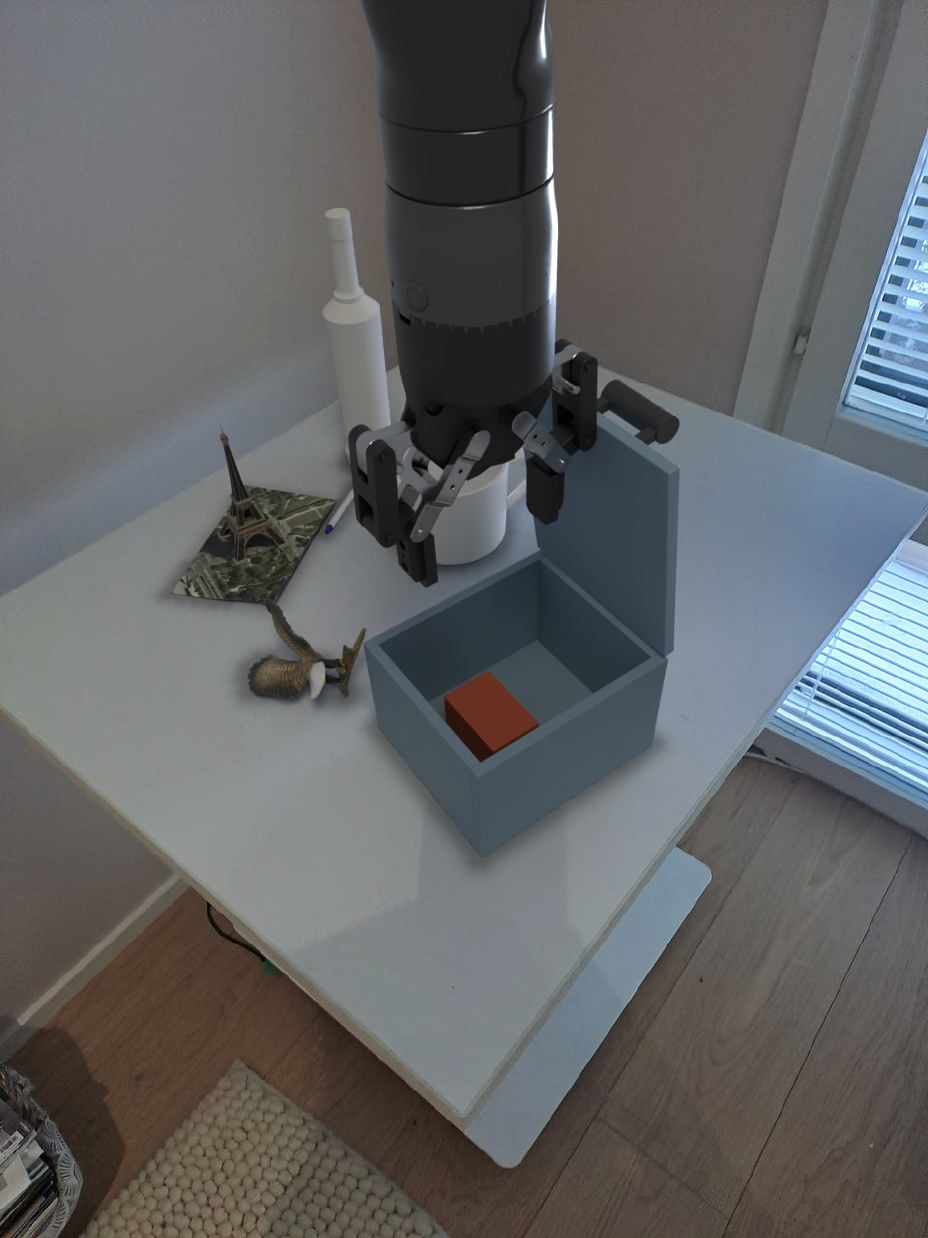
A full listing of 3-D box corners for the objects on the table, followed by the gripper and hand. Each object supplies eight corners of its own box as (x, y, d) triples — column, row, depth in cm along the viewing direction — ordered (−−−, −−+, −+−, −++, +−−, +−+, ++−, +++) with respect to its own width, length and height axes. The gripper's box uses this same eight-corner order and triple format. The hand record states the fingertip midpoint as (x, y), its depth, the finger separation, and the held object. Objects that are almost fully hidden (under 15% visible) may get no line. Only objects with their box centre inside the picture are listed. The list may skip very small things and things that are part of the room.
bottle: (353, 443, 94) (314, 199, 76) (401, 446, 94) (374, 200, 75) (342, 474, 91) (298, 226, 72) (392, 476, 90) (361, 226, 72)
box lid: (669, 474, 46) (739, 427, 48) (510, 364, 54) (574, 326, 56) (665, 657, 59) (720, 617, 60) (537, 547, 67) (588, 513, 68)
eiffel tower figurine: (276, 611, 78) (242, 490, 68) (171, 593, 80) (123, 472, 70) (337, 502, 88) (314, 383, 78) (242, 489, 90) (209, 370, 80)
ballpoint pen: (366, 468, 91) (364, 460, 91) (374, 469, 91) (372, 461, 90) (324, 534, 85) (322, 526, 84) (332, 536, 84) (331, 528, 84)
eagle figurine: (375, 635, 74) (274, 601, 75) (361, 622, 67) (249, 584, 68) (343, 723, 73) (241, 687, 74) (325, 720, 66) (213, 680, 67)
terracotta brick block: (538, 755, 65) (539, 722, 63) (494, 783, 64) (493, 751, 61) (489, 703, 69) (488, 670, 66) (446, 729, 67) (443, 696, 65)
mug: (403, 576, 80) (394, 505, 74) (391, 502, 87) (383, 432, 81) (550, 556, 81) (553, 485, 75) (527, 484, 88) (528, 414, 82)
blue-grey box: (481, 858, 61) (477, 778, 54) (378, 727, 69) (362, 642, 62) (652, 744, 67) (668, 658, 60) (538, 636, 75) (541, 548, 67)
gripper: (545, 208, 45) (540, 468, 57) (293, 296, 40) (345, 563, 52) (648, 259, 41) (619, 530, 53) (381, 365, 36) (416, 640, 47)
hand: (483, 546), depth 52 cm, fingers open, 8 cm apart
